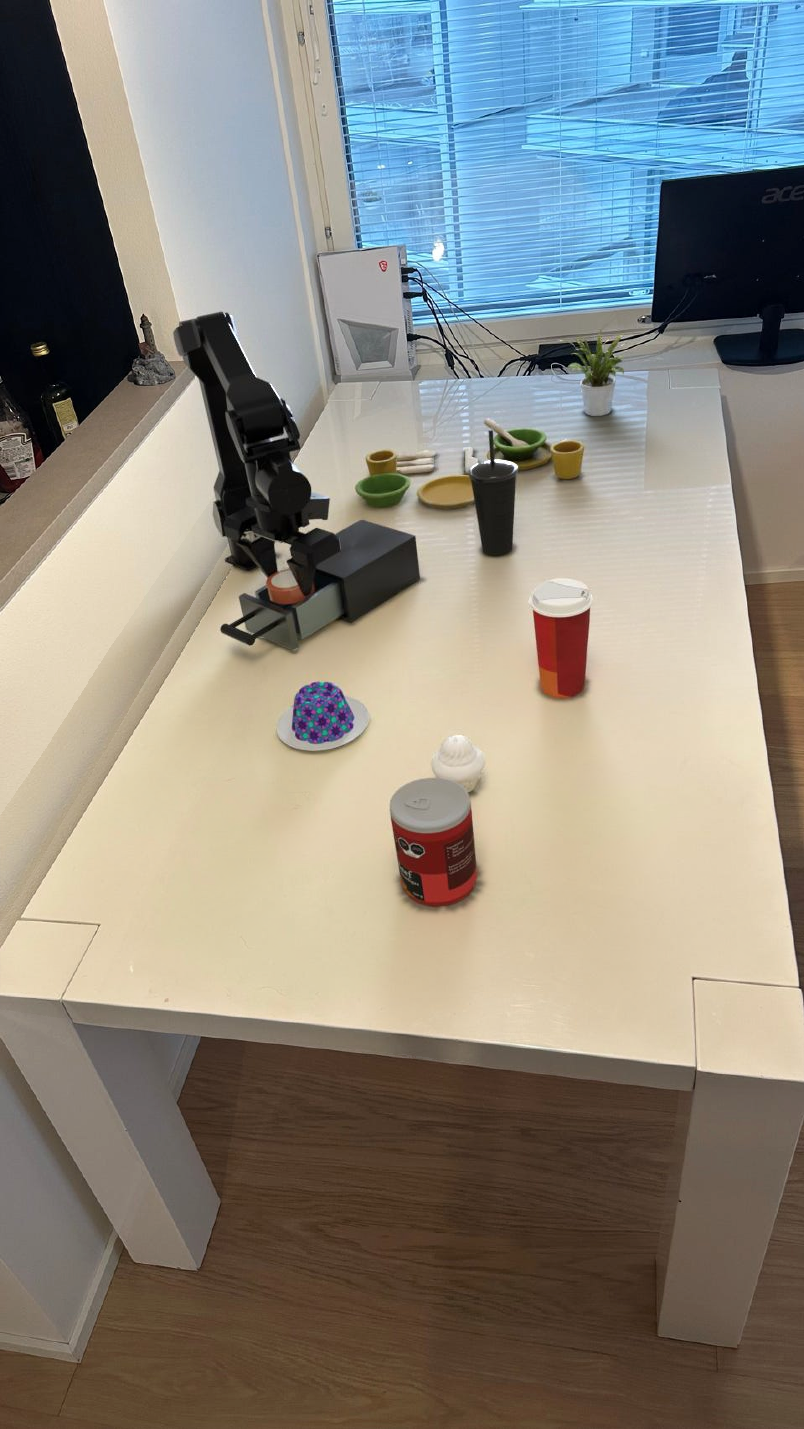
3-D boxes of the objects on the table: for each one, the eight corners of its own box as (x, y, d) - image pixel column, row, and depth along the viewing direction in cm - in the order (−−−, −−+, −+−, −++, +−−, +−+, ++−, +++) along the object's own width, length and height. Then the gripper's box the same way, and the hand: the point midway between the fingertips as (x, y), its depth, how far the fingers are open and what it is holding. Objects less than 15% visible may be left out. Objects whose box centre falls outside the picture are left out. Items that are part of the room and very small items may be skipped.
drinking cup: (518, 560, 160) (513, 438, 148) (470, 560, 162) (461, 440, 150) (523, 538, 166) (518, 419, 154) (477, 538, 167) (469, 421, 156)
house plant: (554, 426, 204) (553, 344, 195) (558, 402, 215) (556, 323, 206) (627, 423, 201) (629, 340, 192) (626, 399, 212) (628, 319, 203)
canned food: (398, 860, 108) (386, 782, 102) (472, 850, 108) (464, 771, 102) (404, 913, 102) (391, 833, 95) (482, 903, 102) (475, 822, 95)
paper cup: (597, 672, 132) (598, 578, 124) (586, 706, 127) (586, 609, 119) (539, 666, 135) (536, 574, 127) (525, 699, 129) (521, 604, 121)
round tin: (259, 598, 147) (256, 582, 146) (293, 579, 151) (290, 563, 149) (290, 611, 143) (287, 594, 142) (325, 591, 147) (322, 574, 145)
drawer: (262, 669, 140) (254, 634, 137) (216, 648, 146) (207, 613, 143) (363, 606, 151) (358, 572, 148) (316, 589, 158) (310, 555, 154)
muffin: (434, 770, 120) (428, 723, 116) (486, 767, 119) (482, 720, 115) (433, 805, 115) (427, 757, 111) (487, 802, 114) (483, 753, 110)
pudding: (348, 761, 123) (342, 727, 120) (261, 748, 127) (253, 714, 124) (384, 704, 132) (379, 671, 129) (301, 694, 136) (294, 661, 133)
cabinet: (350, 623, 150) (343, 578, 145) (298, 602, 157) (289, 558, 152) (420, 579, 158) (415, 535, 154) (367, 561, 165) (361, 519, 161)
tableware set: (577, 441, 196) (577, 409, 193) (589, 502, 174) (589, 467, 171) (368, 458, 201) (364, 427, 198) (354, 519, 179) (349, 485, 175)
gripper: (361, 479, 136) (375, 581, 145) (270, 454, 147) (289, 550, 156) (301, 511, 130) (319, 615, 139) (211, 482, 141) (234, 580, 150)
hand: (291, 588), depth 146 cm, fingers closed on round tin, 7 cm apart
